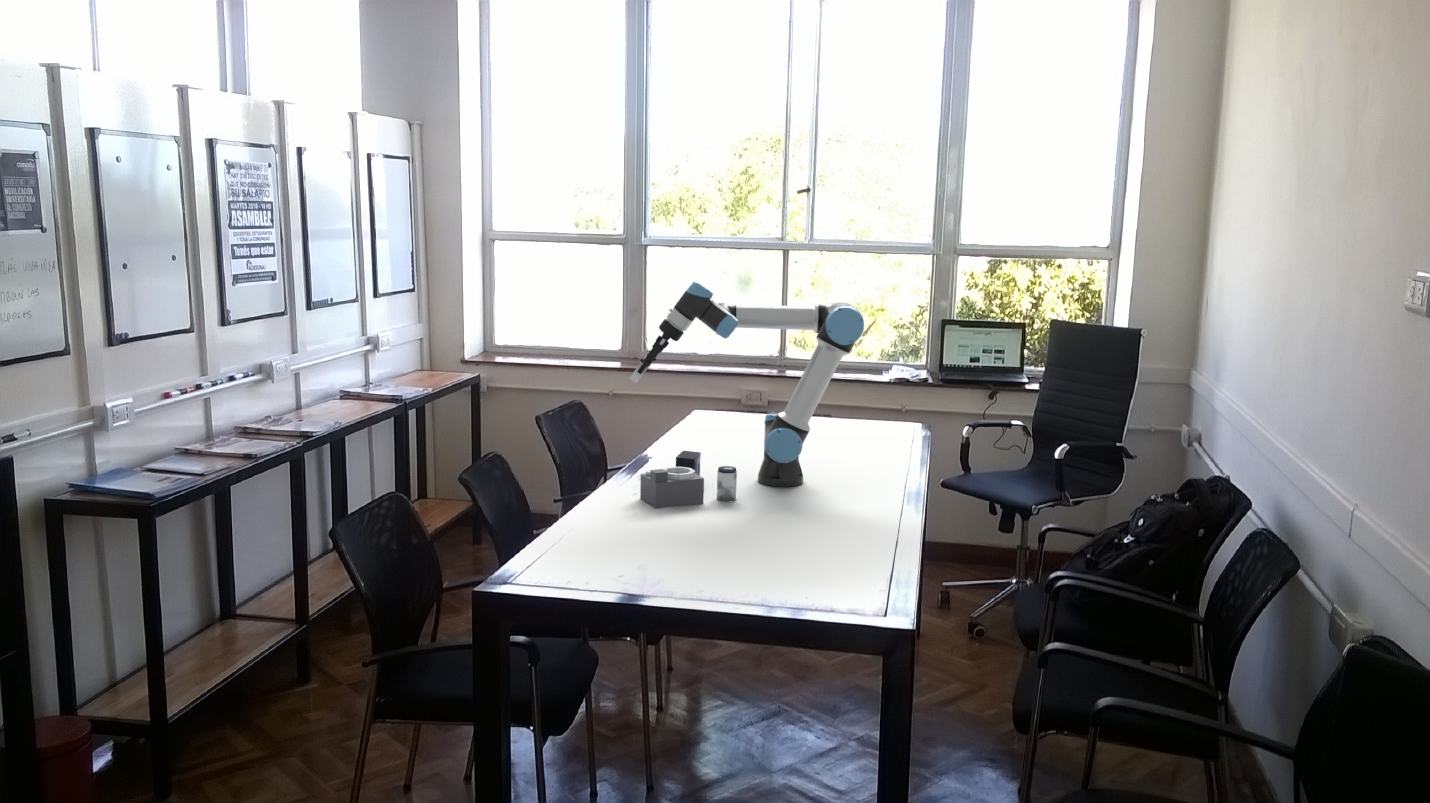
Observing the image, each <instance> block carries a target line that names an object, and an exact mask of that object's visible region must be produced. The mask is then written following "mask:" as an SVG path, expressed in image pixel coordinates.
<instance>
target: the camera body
mask: <svg viewBox="0 0 1430 803" xmlns="http://www.w3.org/2000/svg"><path fill="white" fill-rule="evenodd" d="M704 487H705V478H704V477H702V476H701V475H700V476H699V475H697V474H695V470H693V469H691V468H687V467H676V466H668V467H664V468H660V469H659V468H658V469H656V468H655V469H650V470H648V471H647V470H646V471H645V473H640V492H639V493H640V495H639V496H640V497H639V498H640V499H639V500H641V501H643V502H645V503H646V504H648V505H649V506H651V507H652V508H654V509H655V510H656V509H657V510H659V509H664V508H665V509H666V508H675V506H677V507H682V506H683V507H685V506H686V507H687V506H695V505H704V496H705V495H704V494H705V492H704V490H705V488H704Z"/></svg>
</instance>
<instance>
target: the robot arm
mask: <svg viewBox="0 0 1430 803" xmlns="http://www.w3.org/2000/svg"><path fill="white" fill-rule="evenodd" d="M713 295H714V292H713V291H712V290H711V289H710V288H709V287H707V286H706V285H705V284H704V283H702V282H700V281H698V280H695V281H692V283H691V284H690V285H689V287H688V288H687V289H686V290H685V292H684V293H683V295H681V297H680V298H679V299H678V300H677V302H676V303H675V304H674V307H672V308H669V310H668V311H669V313H668V314H667V316H666V318H664V319H663V320H662V321H661V323H660V325H658V326H659V327H658V328H659V330H660V331H661V333H662V335H658V337H657V338H656V339H655V342H654V343H653V345H652V346H651V347H652V348H651V349H650V350H649V351H648V353H647V354H646V355H645V357H644V358H643V359H642V358H641V359H640V361H639V362H640V363H639V365H638V366H637V367H636V368H635V370H634V371H633V372H632V374H631V375H630V376H629V380H630V381H631V382H633V383H634V384H637V383H638V382H639V380H640V379H641V378H642V377H643V375H644V374H645V373H646V372H647V370H648V369H649V368H650V366H651V365H652V363H653V362H656V361H657V357H658V356H659V354H661V353H662V352H663V351H664V350H665V349H666V348H667V347H668V345H669V344H670V342H669V340H670V339H671V340H672V341H675V342H678V341H679V340H680V339H681V338H682V336H683V335H684V332H686V331H687V330H688V329H689V328H690V326H691V325H692V323H693V322H694V321H695V319H696V318H697V320H699V321H700V322H702V323H703V324H704V325H706V326H707V327H709V329H711V330H712V331H713V332H714V333H716V335H718V336H720V337H721V338H723V339H724V340H725V339H727V338H729V337H730V336H731V335H732V333H733V332H734V331H735V330H736V328H737V329H742V328H743V329H766V330H767V329H768V330H769V329H772V330H796V331H797V330H800V331H801V330H802V331H813V332H814V333H815V334H817V335H816V340H817V345H816V347H815V350H813V353H812V355H811V358H810V359H809V362H808V363H807V365H806V367H805V369H804V371H803V373H802V375H801V377H800V379H799V381H798V382H797V385H796V387H795V389H794V391H793V393H792V395H791V397H790V399H789V401H788V403H787V404H786V406H785V409H784V410H782V411H780V412H778V413H767V414H766V415H765V418H764V421H763V422H764V423H763V424H764V442H763V443H764V445H763V460H762V463H761V465H760V469H759V470H758V473H757V481H758V483H760V484H762V485H764V486H765V485H766V486H770V487H777V488H779V487H780V488H781V487H782V488H783V487H784V488H785V487H786V488H787V487H790V488H791V487H796V486H797V487H798V486H800V485H802V484H803V483H804V475H803V471H802V467H801V462H800V459H799V458H800V455H801V453H802V450H803V445H804V443H805V440H806V439H807V438H808V434H809V433H810V431H811V428H810V425H809V422H810V420H811V418H812V416H813V414H814V413H815V411H816V409H817V407H818V404H819V403H820V401H821V400H822V397H823V395H824V394H825V391H826V389H827V387H828V386H829V384H830V383H831V382H830V381H831V379H832V378H833V376H834V374H835V372H836V370H837V368H838V367H839V364H840V363H841V361H842V358H843V357H844V356H847V355H849V354H850V353H851V352H852V350H853V348H854V346H855V343H856V342H857V341H858V340H859V339H860V338H861V337H862V335H863V333H864V329H865V320H864V317H863V315H862V313H861V312H860V311H859V309H857V308H856V307H855V306H853V305H852V304H851V303H847V302H831V303H816V304H815V305H814V306H798V305H797V306H796V305H794V306H793V305H764V304H763V305H761V304H759V305H756V304H727V303H717V302H716V301H715V300H714V299H712V298H713Z"/></svg>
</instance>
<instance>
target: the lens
mask: <svg viewBox="0 0 1430 803" xmlns="http://www.w3.org/2000/svg"><path fill="white" fill-rule="evenodd" d="M737 472H738V471H737V467H735V466H729V465H722V466H718V468H717V476H716V479H717V482H716V500H717V501H718V502H723V501H724V502H723V503H725V502H726V503H727V502H729V503H731V502H730V501H732V502H735V501H737V480H738V479H737V474H738V473H737Z"/></svg>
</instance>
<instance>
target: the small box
mask: <svg viewBox="0 0 1430 803" xmlns="http://www.w3.org/2000/svg"><path fill="white" fill-rule="evenodd" d="M701 453H702V452H700V451H690V450H683V451H681V452H680V453H679V454H678V455H677V456H675V467H687V468H691V469H693V470H695V474H697V475H699V476H700V477H701V455H702V454H701Z"/></svg>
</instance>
